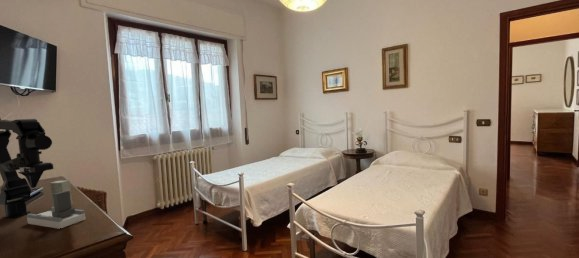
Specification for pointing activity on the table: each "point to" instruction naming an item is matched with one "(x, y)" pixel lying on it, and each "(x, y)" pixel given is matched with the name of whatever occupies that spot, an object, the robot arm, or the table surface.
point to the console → (55, 219)
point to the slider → (62, 204)
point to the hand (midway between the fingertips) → (33, 187)
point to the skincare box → (60, 188)
